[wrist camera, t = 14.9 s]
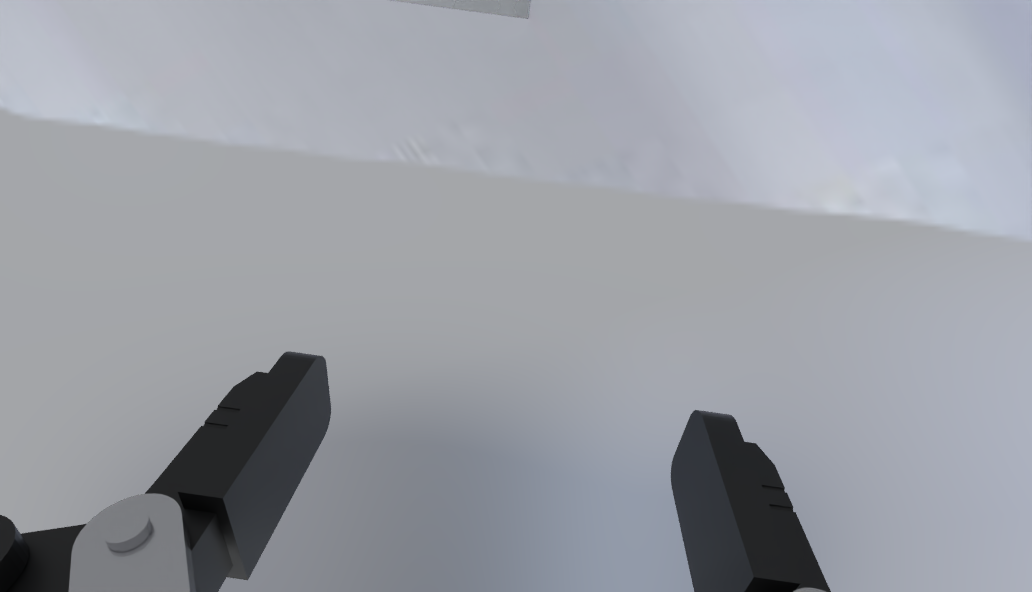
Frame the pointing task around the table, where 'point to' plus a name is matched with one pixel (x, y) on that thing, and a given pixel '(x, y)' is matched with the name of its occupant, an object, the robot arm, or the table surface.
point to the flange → (481, 6)
